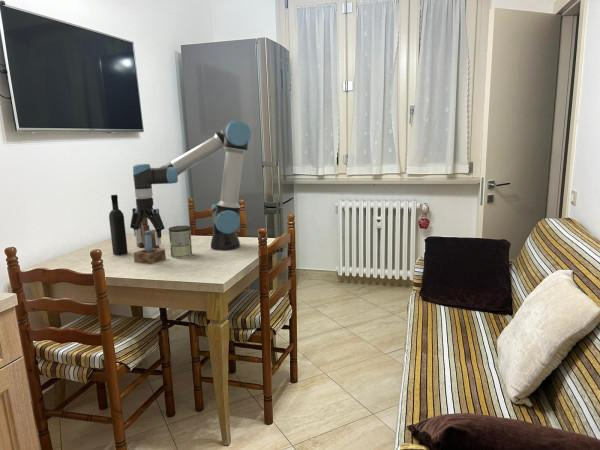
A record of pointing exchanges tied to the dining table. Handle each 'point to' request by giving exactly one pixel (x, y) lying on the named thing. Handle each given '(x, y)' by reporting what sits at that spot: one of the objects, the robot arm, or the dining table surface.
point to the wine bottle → (117, 228)
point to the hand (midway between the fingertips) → (148, 243)
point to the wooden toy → (143, 228)
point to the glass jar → (180, 241)
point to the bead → (149, 256)
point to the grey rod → (148, 241)
